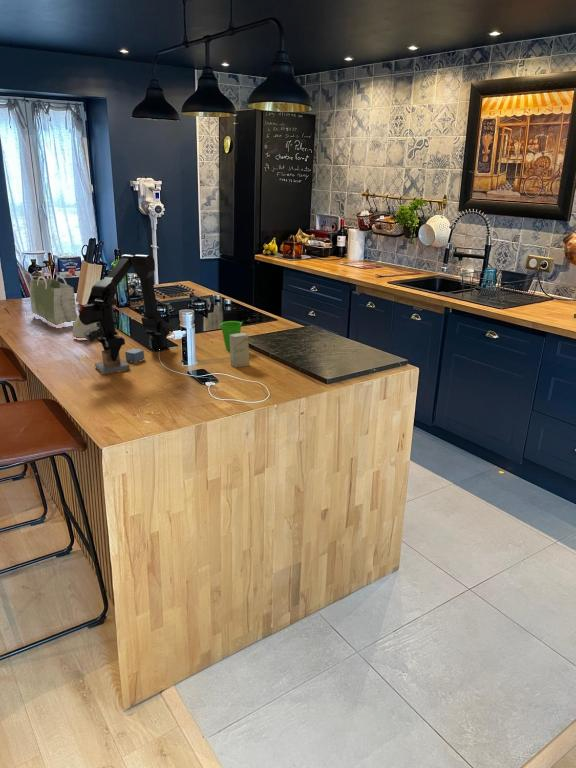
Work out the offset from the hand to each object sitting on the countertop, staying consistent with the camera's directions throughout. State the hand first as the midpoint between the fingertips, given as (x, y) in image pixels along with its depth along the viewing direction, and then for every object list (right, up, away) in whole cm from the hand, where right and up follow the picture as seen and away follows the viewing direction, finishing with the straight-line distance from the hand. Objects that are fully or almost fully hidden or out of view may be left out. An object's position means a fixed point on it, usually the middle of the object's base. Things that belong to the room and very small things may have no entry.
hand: (111, 358), depth 220 cm
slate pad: (0, -4, +1) cm, 4 cm away
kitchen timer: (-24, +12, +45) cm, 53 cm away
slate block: (+6, 0, +11) cm, 13 cm away
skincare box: (+49, -2, +3) cm, 49 cm away
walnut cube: (0, -2, +1) cm, 2 cm away
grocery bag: (-50, +22, +75) cm, 92 cm away
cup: (+44, +5, +23) cm, 50 cm away
